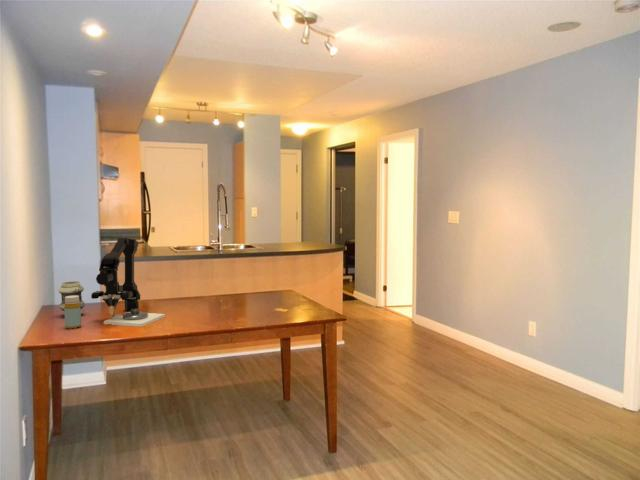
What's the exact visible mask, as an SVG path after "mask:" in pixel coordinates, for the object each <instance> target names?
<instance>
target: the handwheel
mask: <svg viewBox="0 0 640 480" xmlns="http://www.w3.org/2000/svg"><path fill="white" fill-rule="evenodd" d="M139 309H140V308H139ZM139 309H131V312H130V313H128V312H125V313H126V314H125V313H121V314H116V313H115V311H114V306H109V307H108V317H110V318H114V317H118V316H123V319H128V320H134V319H142V318H146V317H147V316H148V313H149V312H146V311H140V310H139Z"/></svg>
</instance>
